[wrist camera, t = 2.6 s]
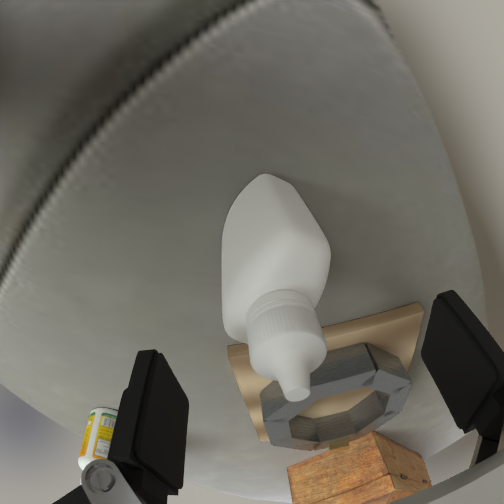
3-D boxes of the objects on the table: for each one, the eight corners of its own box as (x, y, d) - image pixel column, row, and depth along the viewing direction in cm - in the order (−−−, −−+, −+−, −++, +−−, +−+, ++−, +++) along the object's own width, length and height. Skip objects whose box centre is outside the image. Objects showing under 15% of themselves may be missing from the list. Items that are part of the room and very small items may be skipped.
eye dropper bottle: (315, 219, 19) (406, 378, 8) (239, 267, 20) (257, 446, 9) (276, 161, 17) (362, 296, 6) (196, 217, 18) (167, 396, 7)
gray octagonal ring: (251, 366, 23) (256, 408, 19) (406, 328, 23) (427, 363, 19) (272, 434, 29) (277, 465, 26) (385, 406, 29) (396, 434, 26)
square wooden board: (227, 346, 23) (228, 357, 22) (417, 302, 23) (424, 311, 22) (260, 433, 31) (261, 441, 30) (391, 401, 31) (395, 408, 30)
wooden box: (279, 467, 39) (290, 544, 27) (376, 425, 35) (405, 510, 23) (355, 484, 52) (367, 533, 40) (421, 453, 47) (440, 503, 35)
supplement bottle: (120, 406, 27) (106, 486, 19) (142, 429, 30) (134, 501, 22) (81, 405, 27) (63, 478, 19) (104, 428, 30) (92, 495, 22)
